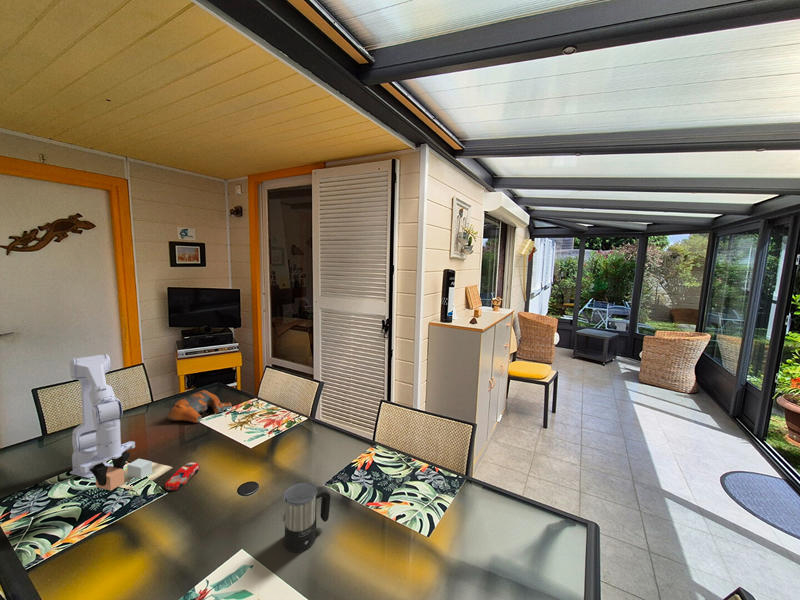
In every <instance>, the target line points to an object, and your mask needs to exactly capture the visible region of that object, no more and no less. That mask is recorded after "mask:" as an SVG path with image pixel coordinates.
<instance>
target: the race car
mask: <svg viewBox="0 0 800 600" xmlns="http://www.w3.org/2000/svg"><path fill="white" fill-rule="evenodd" d="M199 471H200V464H199V462H195V461H194V462H187V463H186V464H184V465H183V466H181V467H180V468H179V469H178V470H177V471H175V473H173V474H172V475H171V477H170V478H169V479H168V480H166V482H165V484H164V488H165V490H166V491H169V492H170V491H176V490H180V489H181V488H182V487H183V486H184V485H185V484H186V483H188V481H190V480H191V479H192V478H193V477H194V476H195V475H197V474H198V472H199Z"/></svg>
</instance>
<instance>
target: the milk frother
mask: <svg viewBox="0 0 800 600" xmlns="http://www.w3.org/2000/svg"><path fill="white" fill-rule="evenodd" d="M331 498H332V497H331V493H330V491H329V490H328V488H326V487H324V486H316V485H314V484H313V483H309V482H299V483H295V484H293V485H291V486H290V487H289V488H287V489H286V491H285V492H284V494H283V501H284V538H283V547H284V548H285V549H286V550H287V551H289V552H291V553H301V552H303V551H306V550H308V549H309V548H311V547H312V546H313V545H314V544H315V541H316V539H317V534H316V533H317V532H316V530H317V500H318V499H321V502H320V518H321V520H322V522H327V521H329V517H330V506H331Z"/></svg>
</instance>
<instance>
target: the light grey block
mask: <svg viewBox="0 0 800 600" xmlns="http://www.w3.org/2000/svg"><path fill="white" fill-rule="evenodd" d="M152 462H153V461H151V460H147V459H142V458H137V459H135V460H134V461H132V462H130V463H128V464H127V469H128V476H129V477H133V478H138V479H143V478H144V477H146V476H148V475H149V474H151V473H152Z"/></svg>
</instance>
